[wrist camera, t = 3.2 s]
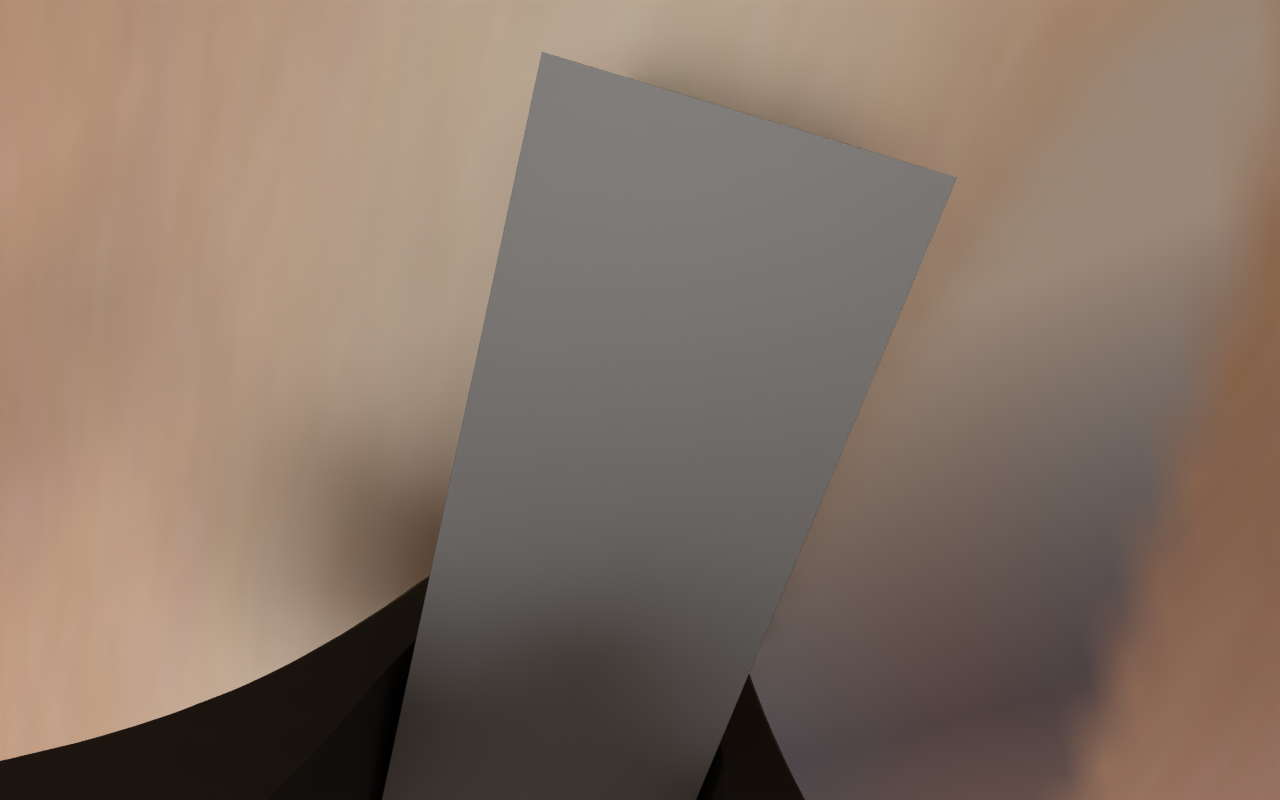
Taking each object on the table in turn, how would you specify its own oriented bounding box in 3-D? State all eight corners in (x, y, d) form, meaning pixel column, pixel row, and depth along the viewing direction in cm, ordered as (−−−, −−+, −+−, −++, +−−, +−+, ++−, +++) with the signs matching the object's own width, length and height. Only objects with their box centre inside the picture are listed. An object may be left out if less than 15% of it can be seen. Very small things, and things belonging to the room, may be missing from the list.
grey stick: (866, 162, 12) (957, 177, 7) (581, 923, 18) (526, 1203, 13) (620, 88, 12) (541, 51, 7) (422, 871, 18) (310, 1132, 13)
